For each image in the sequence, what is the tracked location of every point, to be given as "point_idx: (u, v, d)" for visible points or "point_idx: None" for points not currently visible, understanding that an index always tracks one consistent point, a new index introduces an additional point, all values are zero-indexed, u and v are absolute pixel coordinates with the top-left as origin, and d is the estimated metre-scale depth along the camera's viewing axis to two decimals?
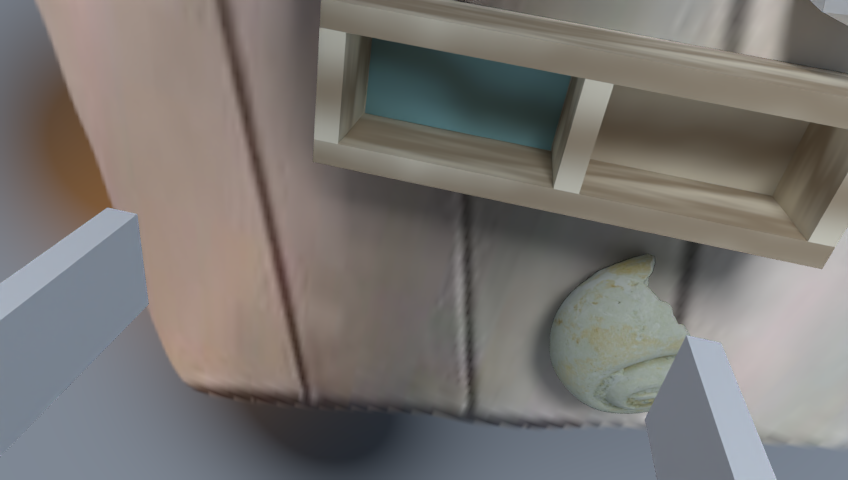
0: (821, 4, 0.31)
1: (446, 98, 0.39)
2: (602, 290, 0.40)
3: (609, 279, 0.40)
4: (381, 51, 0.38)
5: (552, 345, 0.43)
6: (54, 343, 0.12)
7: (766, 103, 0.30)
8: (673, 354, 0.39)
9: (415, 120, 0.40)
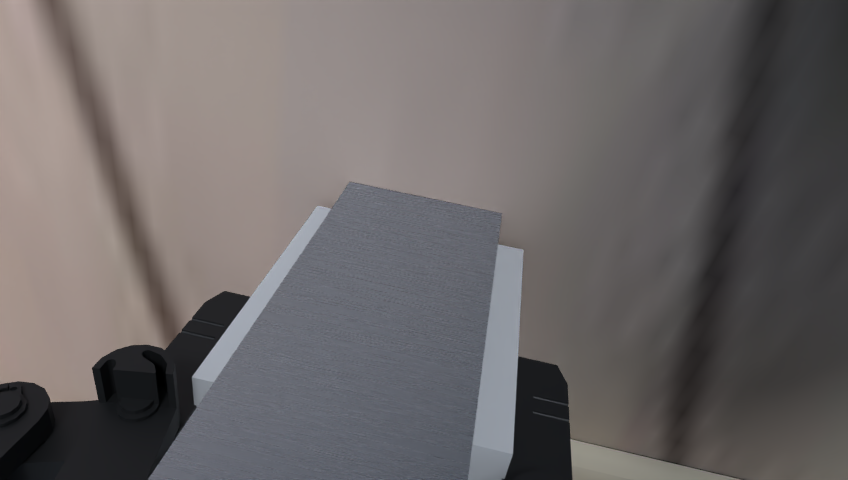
0: None
1: None
2: None
3: None
4: None
5: None
6: None
7: None
8: None
9: None
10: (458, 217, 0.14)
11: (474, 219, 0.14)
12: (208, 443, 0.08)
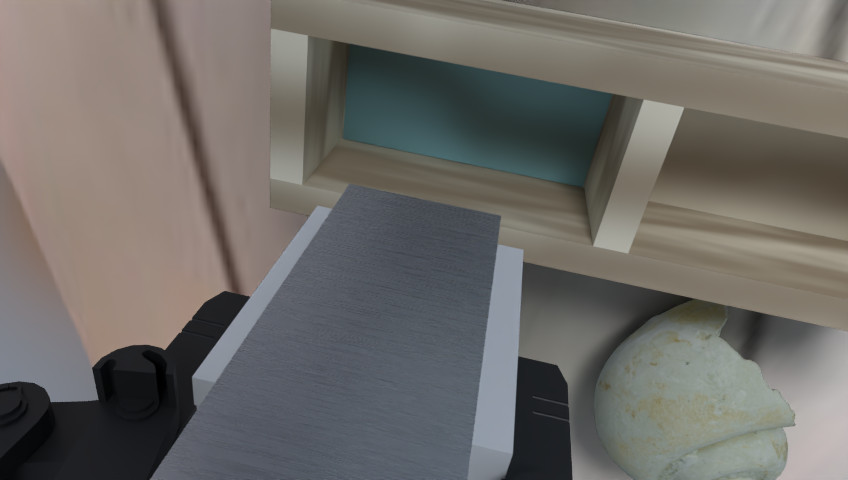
0: None
1: (447, 120, 0.30)
2: (663, 346, 0.30)
3: (671, 331, 0.31)
4: (362, 59, 0.29)
5: (598, 415, 0.34)
6: None
7: None
8: (765, 429, 0.29)
9: (408, 148, 0.31)
10: (457, 220, 0.14)
11: (473, 221, 0.14)
12: (208, 446, 0.08)
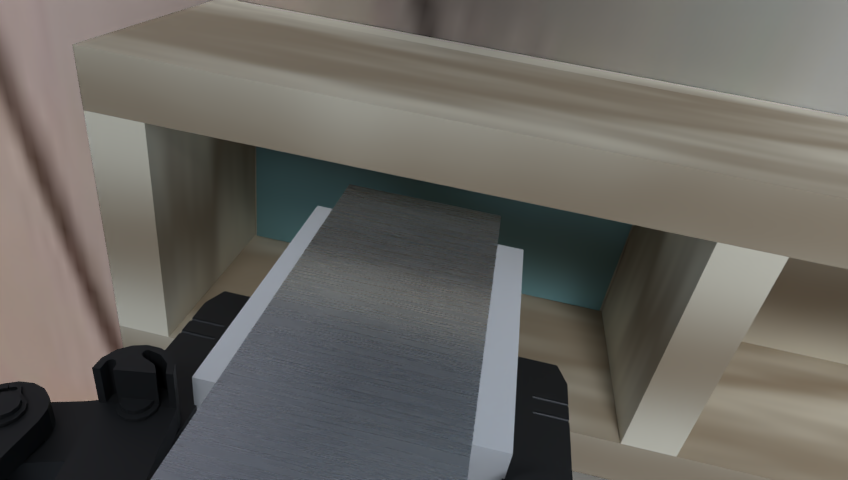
0: None
1: None
2: None
3: None
4: None
5: None
6: None
7: None
8: None
9: None
10: (457, 220, 0.14)
11: (473, 221, 0.14)
12: (208, 447, 0.08)
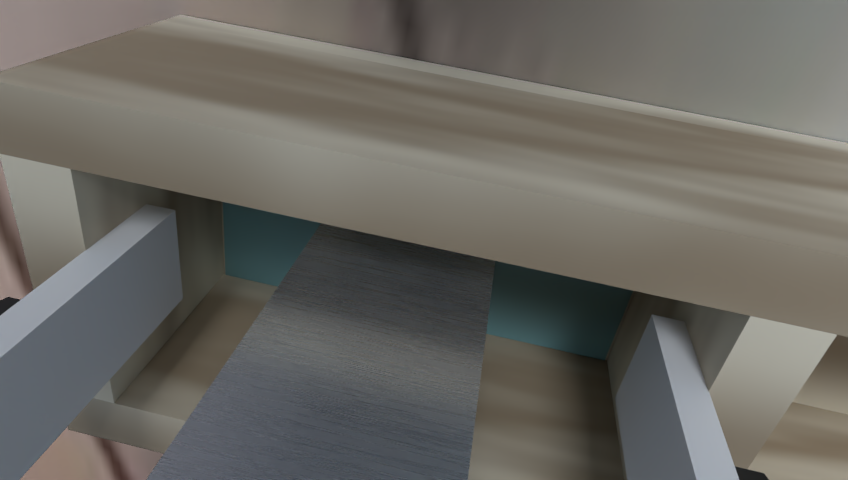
0: None
1: None
2: None
3: None
4: None
5: None
6: (101, 334, 0.12)
7: None
8: None
9: None
10: None
11: None
12: (260, 357, 0.09)
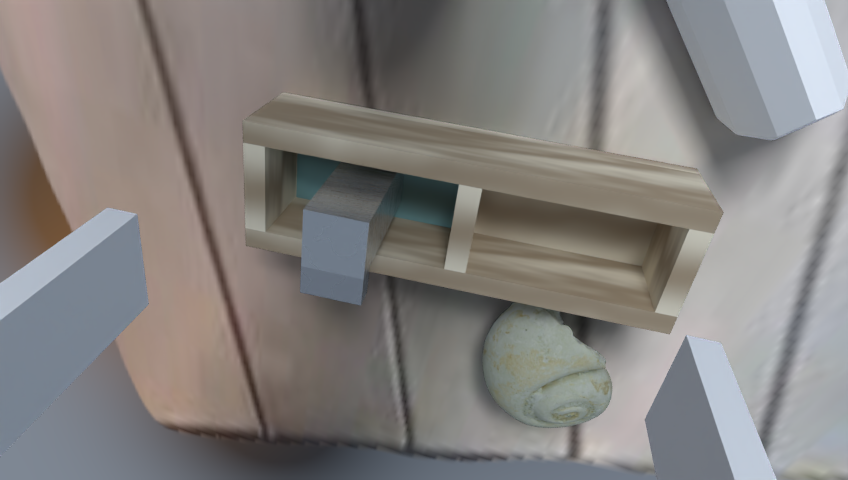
0: (732, 129, 0.37)
1: None
2: (513, 320, 0.45)
3: (519, 310, 0.45)
4: None
5: (483, 373, 0.48)
6: (54, 343, 0.12)
7: (604, 205, 0.36)
8: (580, 370, 0.44)
9: None
10: None
11: None
12: (324, 192, 0.36)
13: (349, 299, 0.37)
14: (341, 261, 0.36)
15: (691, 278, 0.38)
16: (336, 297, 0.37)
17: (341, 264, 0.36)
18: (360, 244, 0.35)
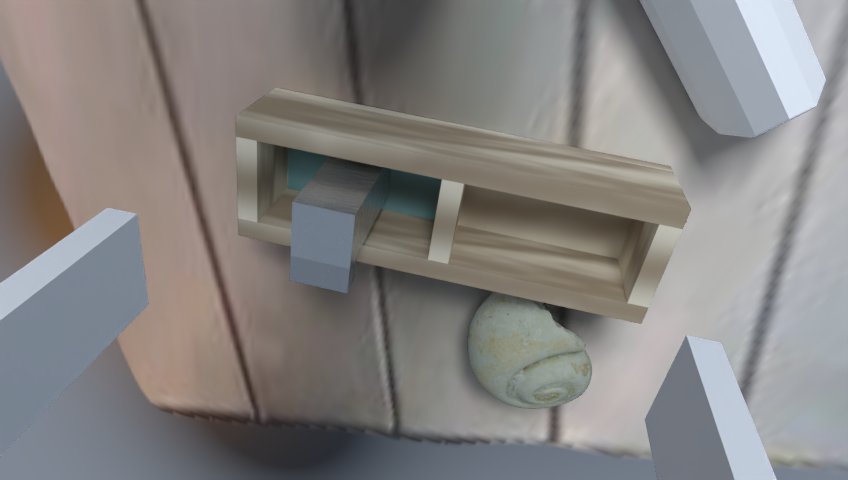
0: (714, 128, 0.39)
1: None
2: (495, 305, 0.47)
3: (501, 295, 0.47)
4: None
5: None
6: (54, 343, 0.12)
7: (579, 200, 0.38)
8: (560, 353, 0.46)
9: None
10: None
11: None
12: (313, 186, 0.38)
13: (336, 287, 0.39)
14: (328, 251, 0.38)
15: (661, 271, 0.40)
16: (323, 285, 0.39)
17: (328, 254, 0.38)
18: (346, 235, 0.37)
